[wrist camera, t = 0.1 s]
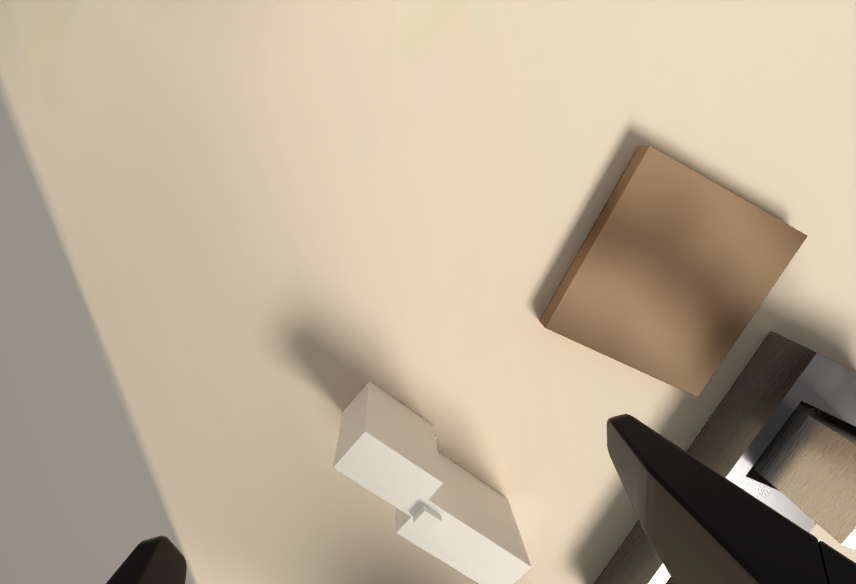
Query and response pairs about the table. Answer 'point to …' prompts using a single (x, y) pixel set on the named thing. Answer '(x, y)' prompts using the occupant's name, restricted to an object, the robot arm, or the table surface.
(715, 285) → the walnut pad
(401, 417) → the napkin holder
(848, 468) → the steel plug
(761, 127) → the table surface
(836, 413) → the grey cinder block
